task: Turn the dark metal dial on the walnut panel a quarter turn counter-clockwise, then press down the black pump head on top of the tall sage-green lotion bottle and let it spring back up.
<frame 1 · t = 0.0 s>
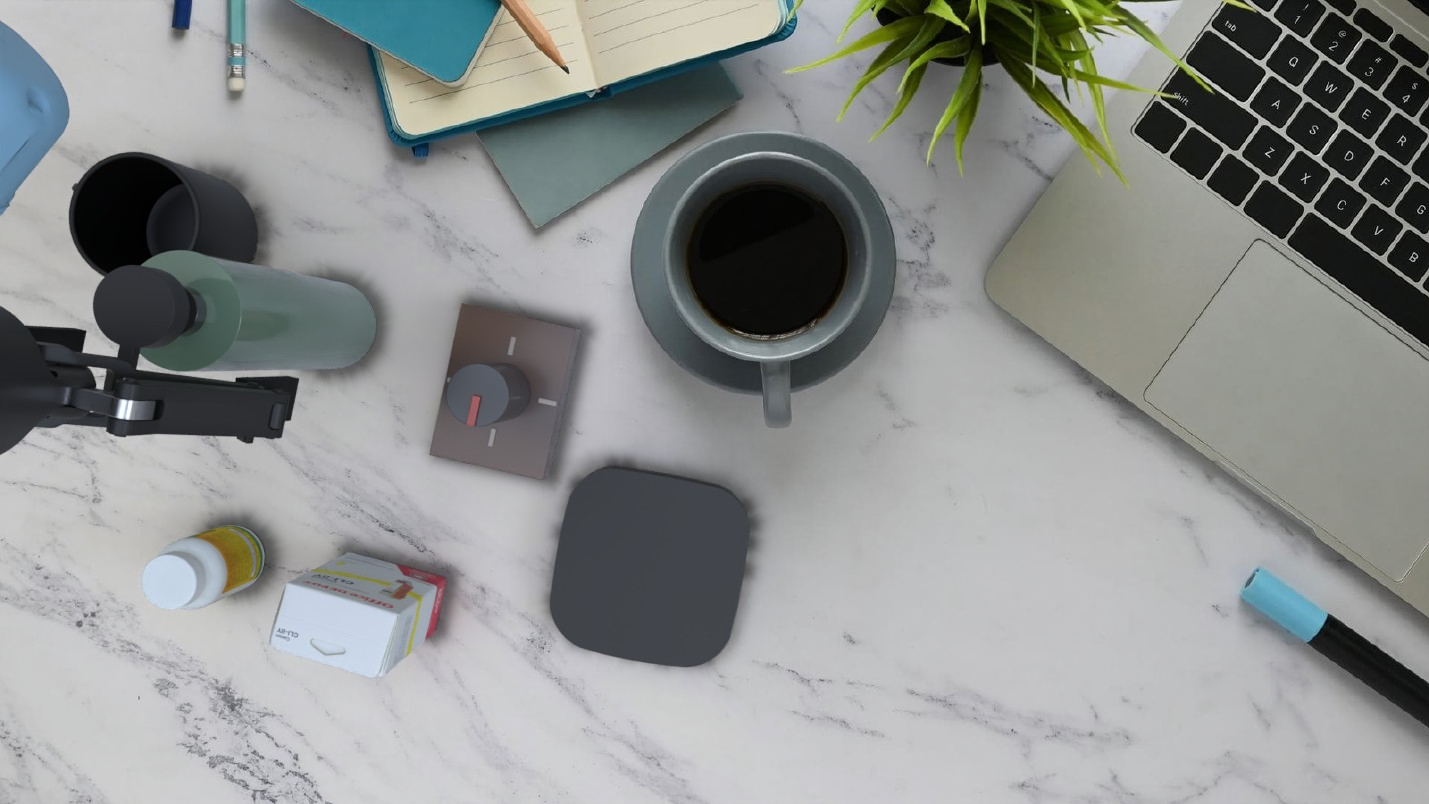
hand: (183, 374, 61), 17 cm above the table, tool pointing down, fingers open, 13 cm apart
pump head: (140, 331, 53), point 26 cm above the table, slide at 0.1 cm
lotion bottle: (333, 325, 79), on the table
supplement bottle: (235, 555, 80), on the table
media streaming box: (651, 561, 79), on the table
dial panel: (510, 390, 79), on the table
mug: (188, 228, 79), on the table
dial: (490, 393, 72), point 7 cm above the table, hinge at 0.0°
ink box: (392, 591, 80), on the table
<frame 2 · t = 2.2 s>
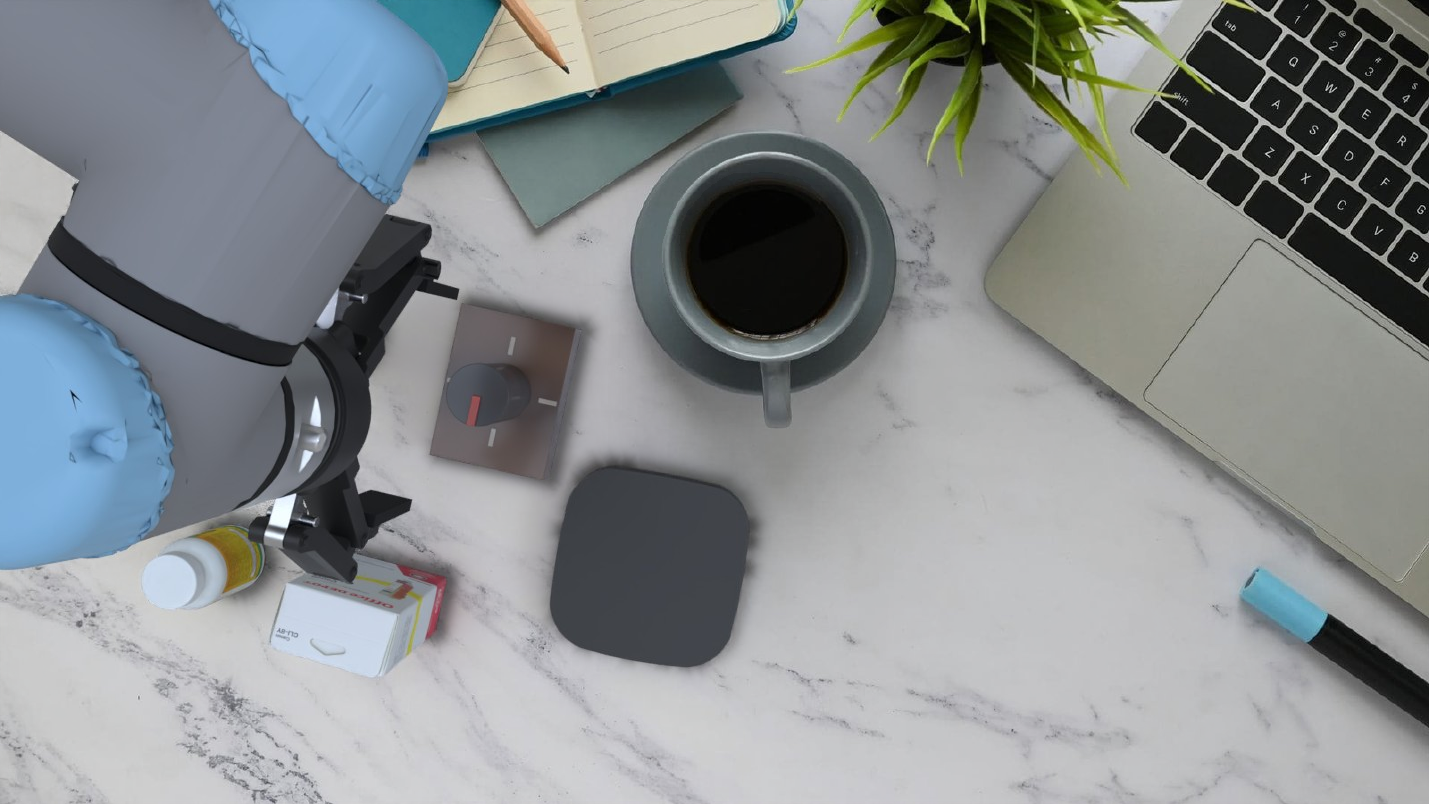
hand: (414, 395, 62), 17 cm above the table, tool pointing down, fingers open, 13 cm apart
nothing on the table moved.
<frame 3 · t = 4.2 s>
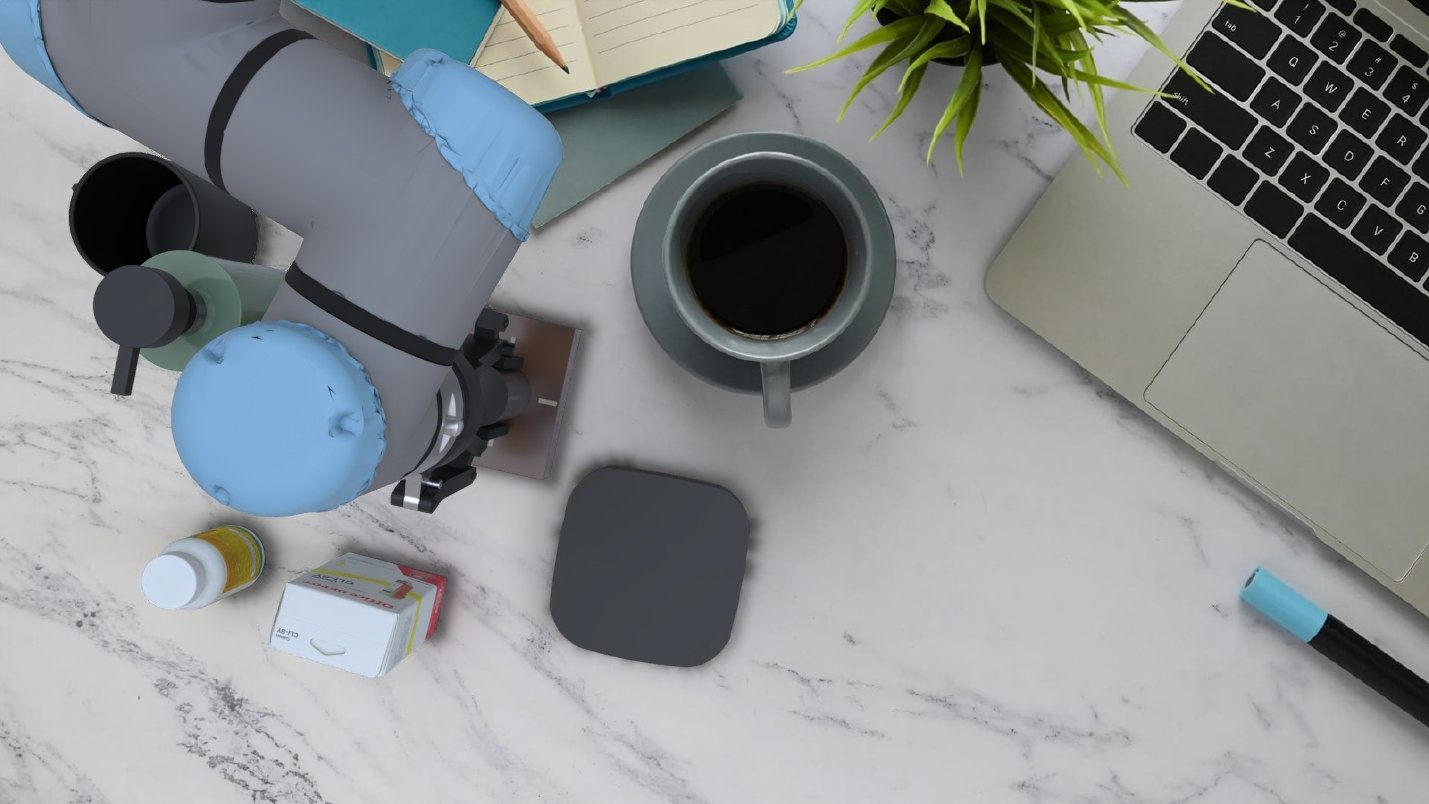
hand: (498, 392, 75), 4 cm above the table, tool pointing down, fingers closed on dial, 4 cm apart
dial: (490, 393, 72), point 7 cm above the table, hinge at 0.0°, touching gripper
everything else where it was.
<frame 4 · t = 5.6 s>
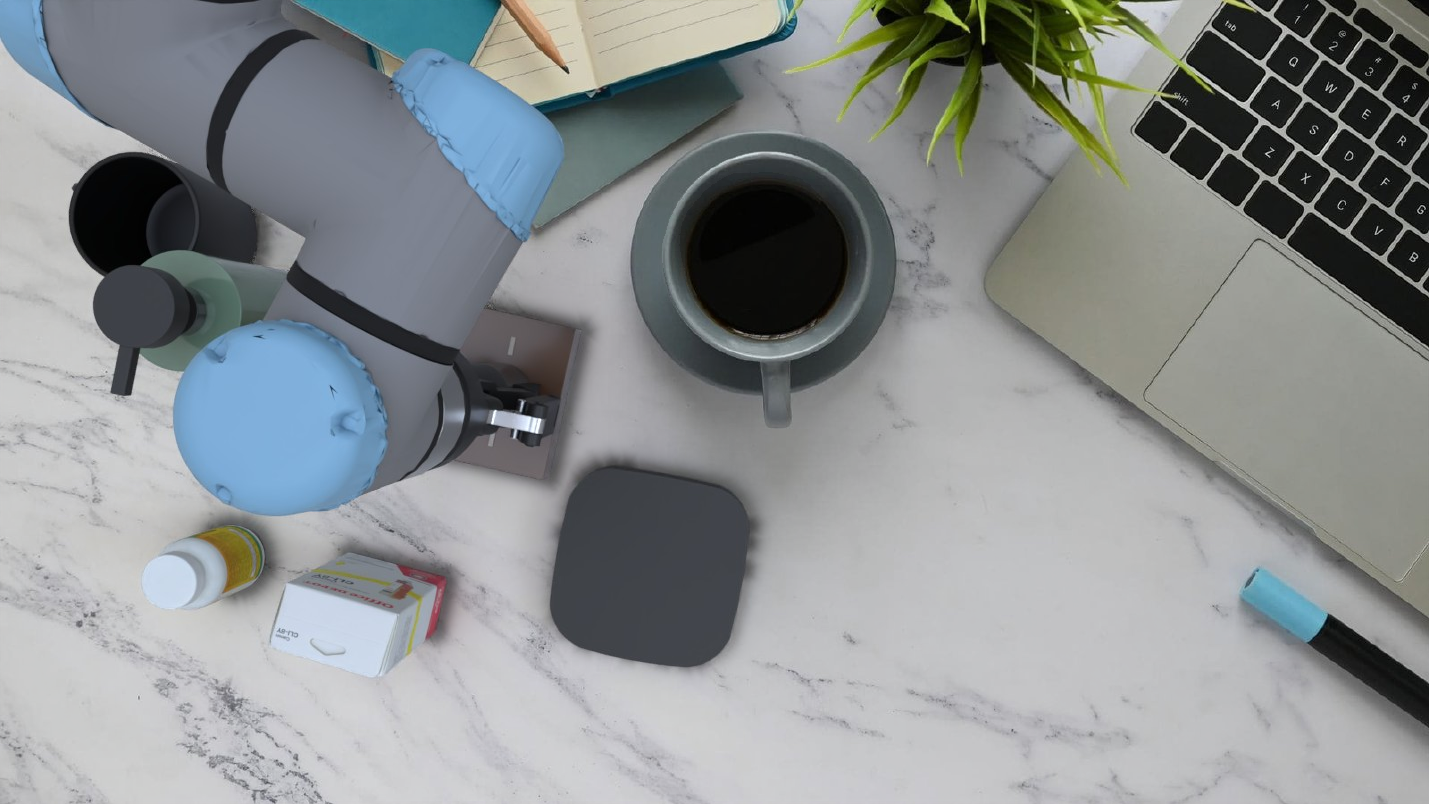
hand: (498, 392, 75), 4 cm above the table, tool pointing down, fingers open, 4 cm apart
dial: (490, 393, 72), point 7 cm above the table, hinge at 89.7°
everything else where it was.
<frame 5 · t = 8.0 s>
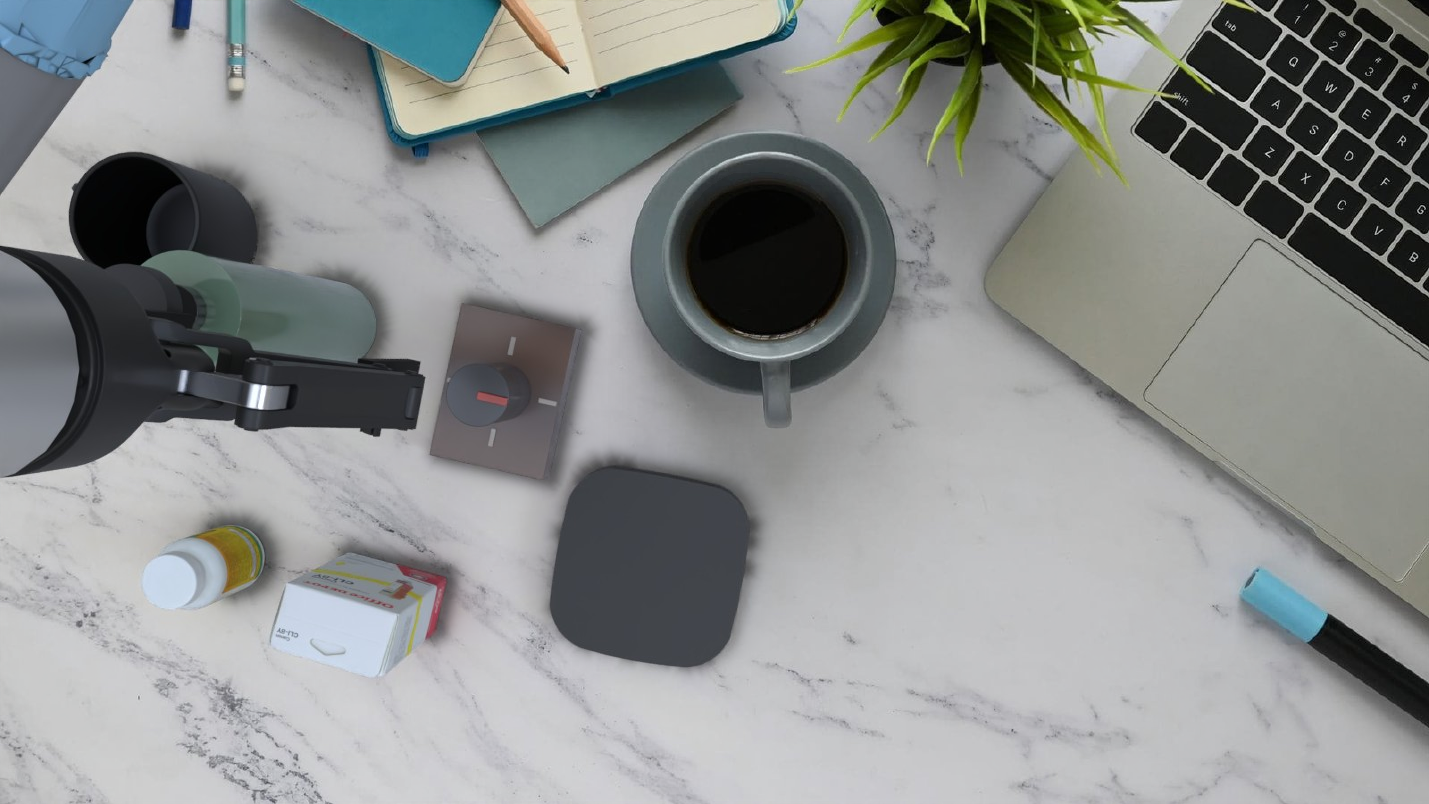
hand: (296, 361, 53), 26 cm above the table, tool pointing down, fingers open, 12 cm apart
pump head: (132, 330, 53), point 26 cm above the table, slide at 0.8 cm, touching gripper
everything else where it was.
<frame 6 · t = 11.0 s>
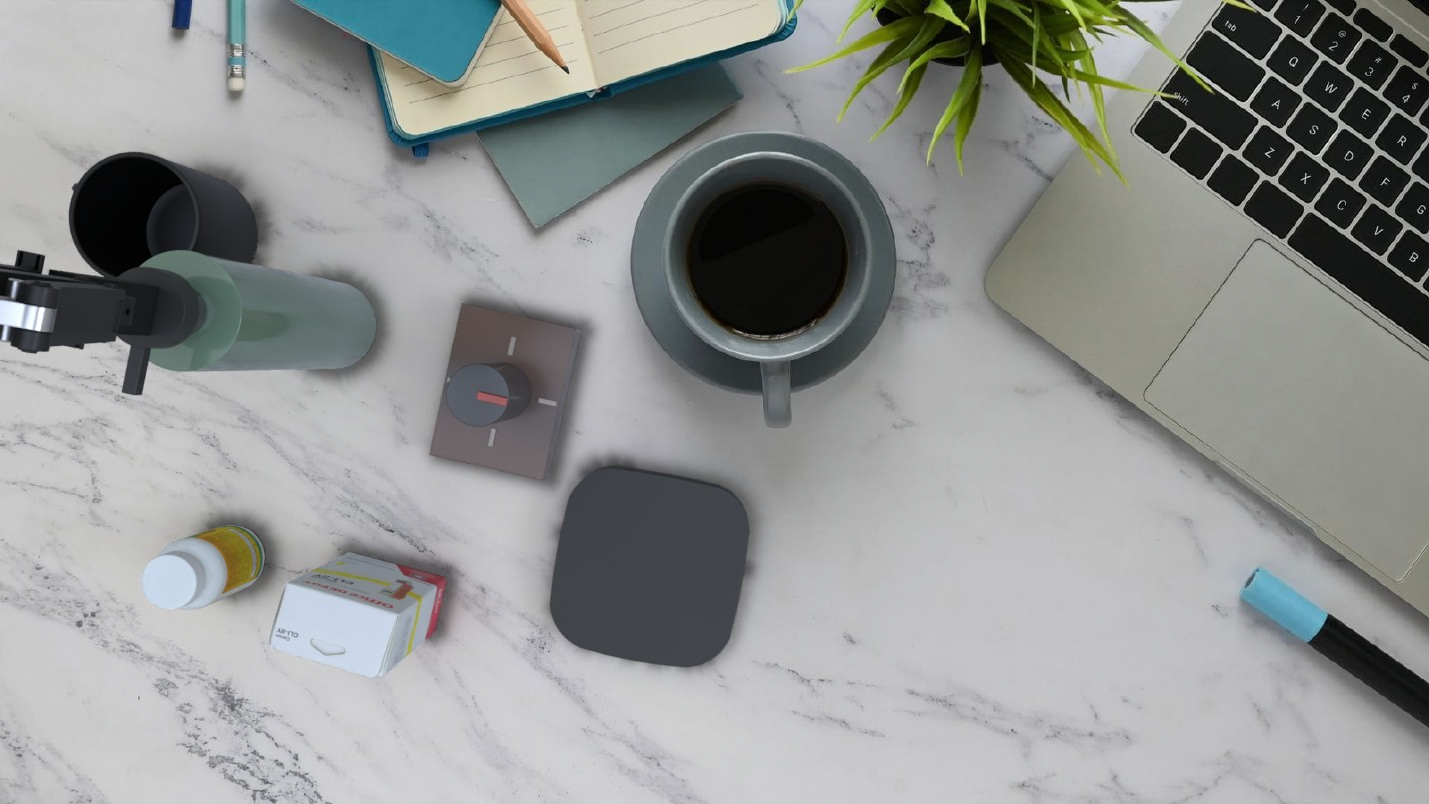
hand: (140, 308, 53), 26 cm above the table, tool pointing down, fingers closed
pump head: (151, 331, 54), point 25 cm above the table, slide at -0.9 cm, touching gripper
everything else where it was.
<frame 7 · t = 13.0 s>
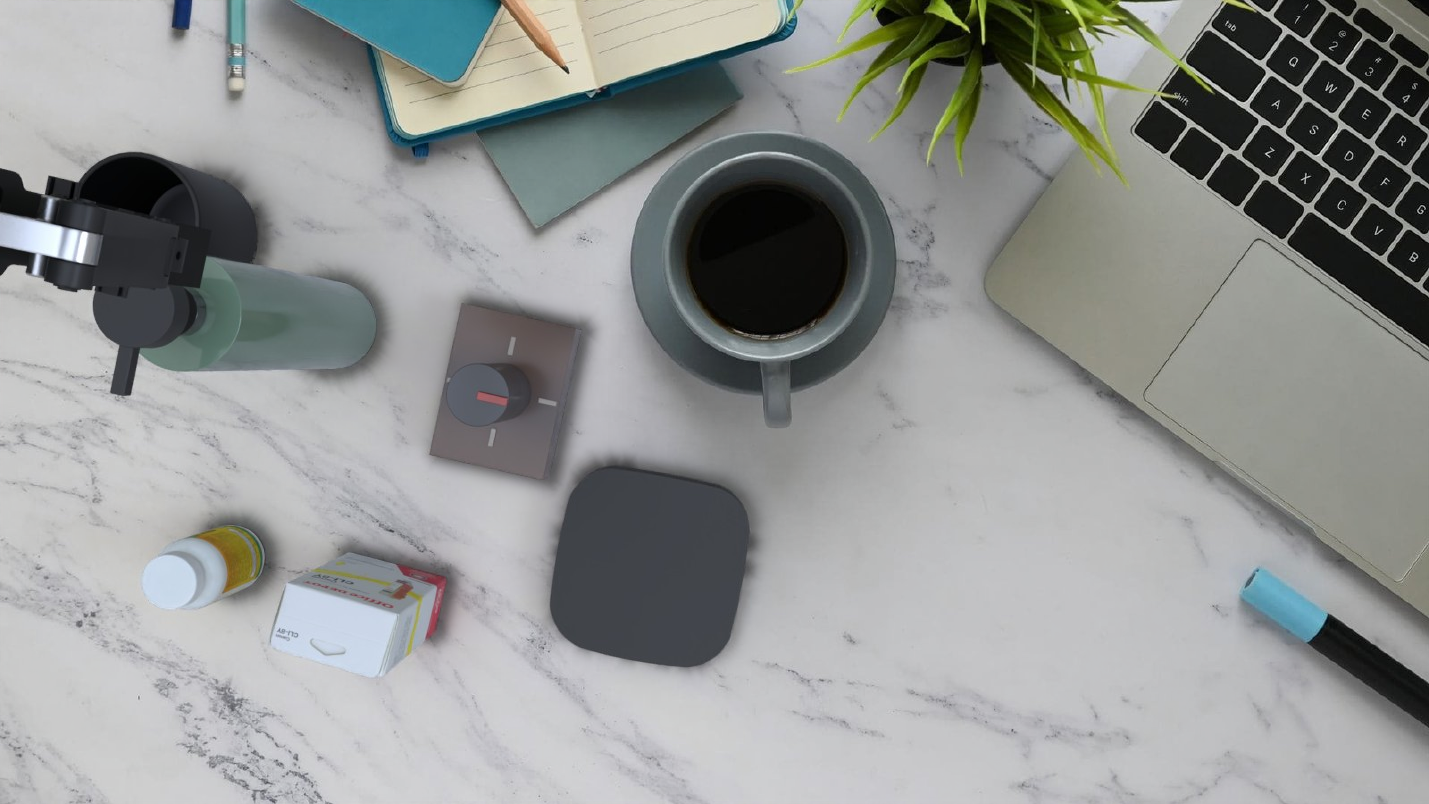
hand: (189, 255, 45), 34 cm above the table, tool pointing down, fingers closed
pump head: (140, 331, 53), point 26 cm above the table, slide at 0.1 cm
everything else where it was.
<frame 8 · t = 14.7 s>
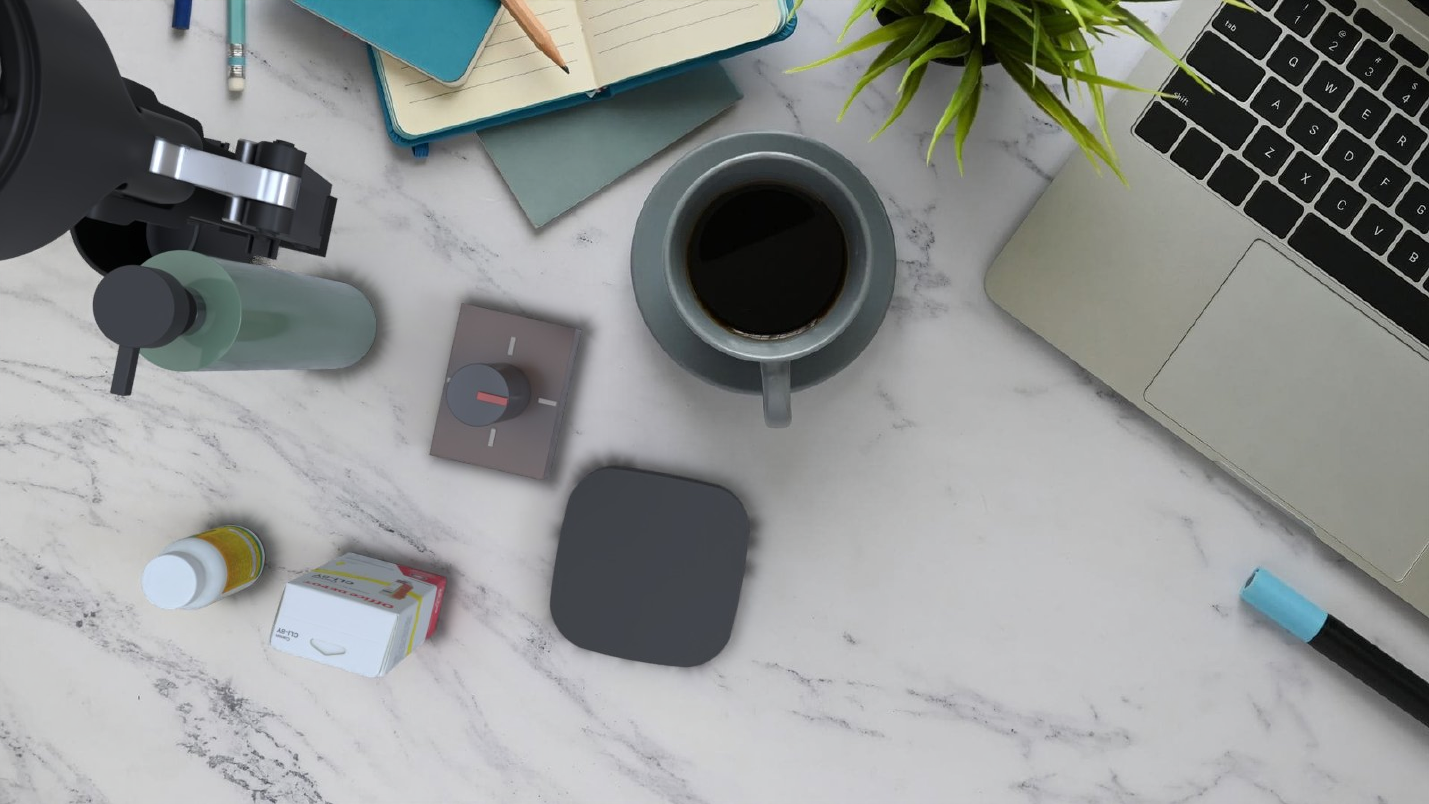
hand: (315, 224, 44), 34 cm above the table, tool pointing down, fingers closed
nothing on the table moved.
at the end: dial at +90° (first picture: +0°); pump head pushed in 1.1 cm at the most during the clip, back to where it started at the end; pump head slide at 0.1 cm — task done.
